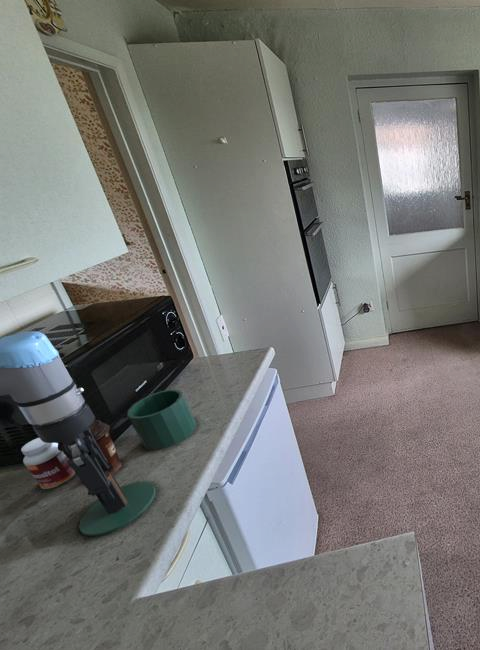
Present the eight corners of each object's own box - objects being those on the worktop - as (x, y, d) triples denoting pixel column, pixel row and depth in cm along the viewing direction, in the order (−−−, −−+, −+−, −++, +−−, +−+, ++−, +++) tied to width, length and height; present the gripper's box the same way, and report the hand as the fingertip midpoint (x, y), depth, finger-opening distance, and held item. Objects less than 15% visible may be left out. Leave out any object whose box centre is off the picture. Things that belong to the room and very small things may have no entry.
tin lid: (66, 545, 73) (41, 512, 69) (105, 492, 84) (86, 461, 80) (137, 529, 75) (117, 496, 71) (167, 480, 86) (150, 449, 82)
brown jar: (106, 487, 86) (78, 443, 80) (71, 489, 86) (41, 445, 81) (136, 458, 93) (113, 416, 88) (104, 459, 94) (79, 417, 89)
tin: (135, 455, 94) (117, 422, 90) (158, 425, 104) (142, 394, 100) (185, 445, 96) (169, 412, 92) (203, 417, 106) (189, 386, 102)
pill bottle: (35, 494, 85) (8, 458, 81) (50, 474, 91) (25, 439, 86) (70, 484, 87) (45, 447, 83) (82, 465, 93) (59, 430, 88)
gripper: (86, 423, 66) (142, 516, 75) (86, 386, 77) (135, 471, 87) (25, 446, 61) (93, 542, 71) (35, 403, 73) (92, 491, 82)
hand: (116, 503), depth 79 cm, fingers closed on tin lid, 3 cm apart
